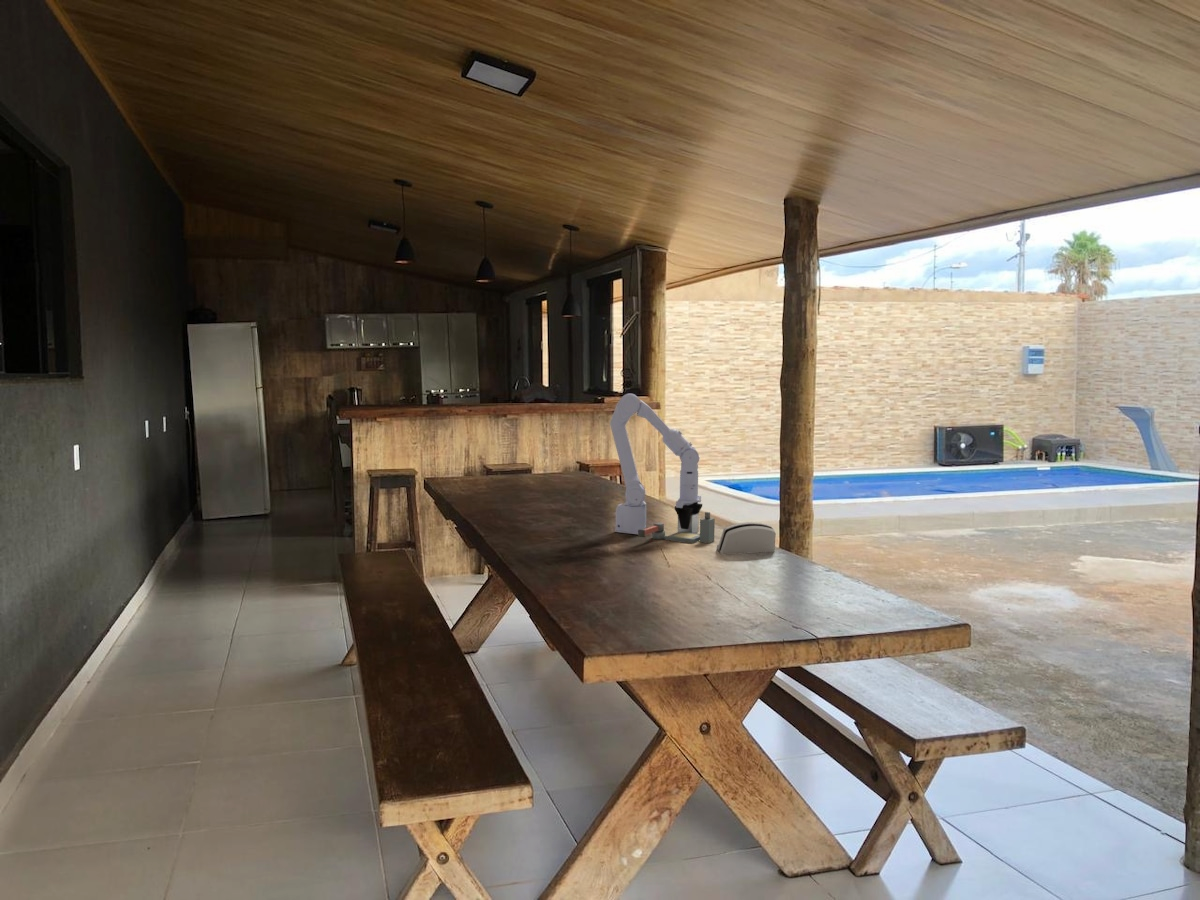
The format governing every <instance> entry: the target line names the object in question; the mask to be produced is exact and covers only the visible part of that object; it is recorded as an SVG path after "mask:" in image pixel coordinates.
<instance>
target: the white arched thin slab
mask: <svg viewBox="0 0 1200 900" xmlns="http://www.w3.org/2000/svg"><path fill="white" fill-rule="evenodd" d="M776 535H777V534H776V530H775V529H774V528H773V527H772V526H771V525H769V524H767V523H762V522H757V521H756V522H755V521H754V522H753V521H751V522H749V521H746V522H740V523H735V524H732V525H729V526H726V527H724V528H723V530H722V533H721V537H720V540H719V543H718V545H716V549H715V550H716V552H719V554H721V555H738V554H739V553H742V554H754V553H756V554H758V553H759V552H761V553H775V551H776V549H775V548H776V538H777V537H776ZM739 555H740V554H739Z"/></svg>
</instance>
